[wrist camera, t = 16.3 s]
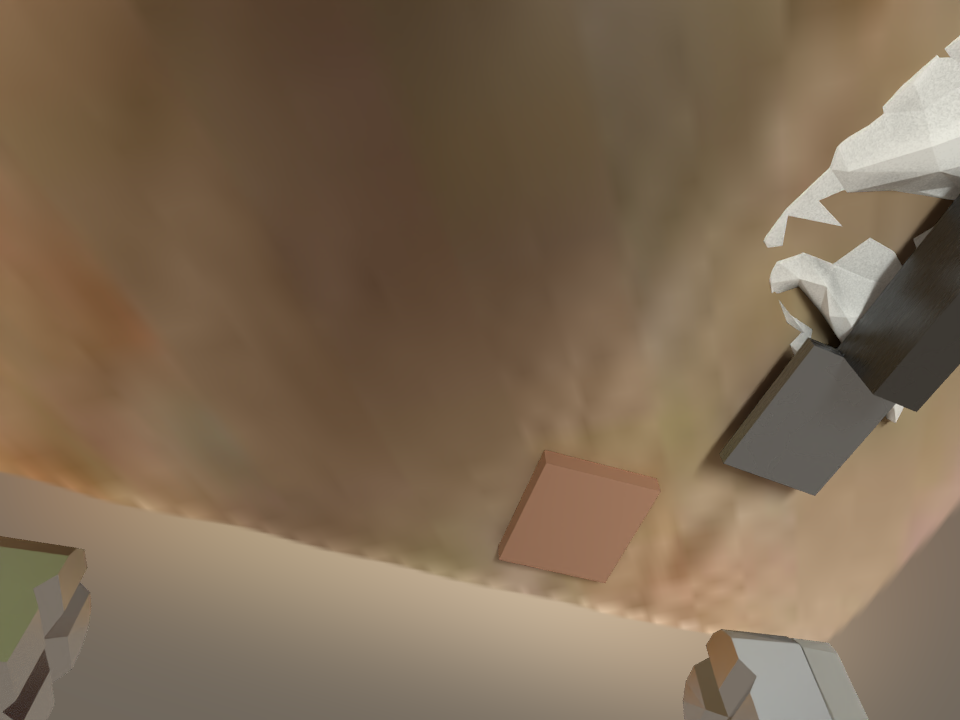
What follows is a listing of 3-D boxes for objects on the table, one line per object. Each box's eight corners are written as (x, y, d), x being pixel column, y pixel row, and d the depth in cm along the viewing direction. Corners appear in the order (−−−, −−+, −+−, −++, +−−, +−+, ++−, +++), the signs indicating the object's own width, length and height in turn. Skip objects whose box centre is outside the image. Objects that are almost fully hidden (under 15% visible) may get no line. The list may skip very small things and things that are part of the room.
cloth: (907, -86, 30) (937, -84, 28) (1194, 12, 32) (1240, 20, 30) (657, 426, 43) (666, 451, 41) (871, 472, 45) (889, 498, 43)
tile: (546, 463, 42) (498, 559, 46) (660, 491, 43) (605, 583, 47) (543, 444, 43) (497, 540, 47) (655, 472, 45) (601, 563, 49)
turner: (981, 109, 32) (1043, 136, 28) (1087, 164, 33) (1158, 196, 30) (719, 453, 41) (741, 504, 38) (809, 485, 43) (838, 537, 39)
